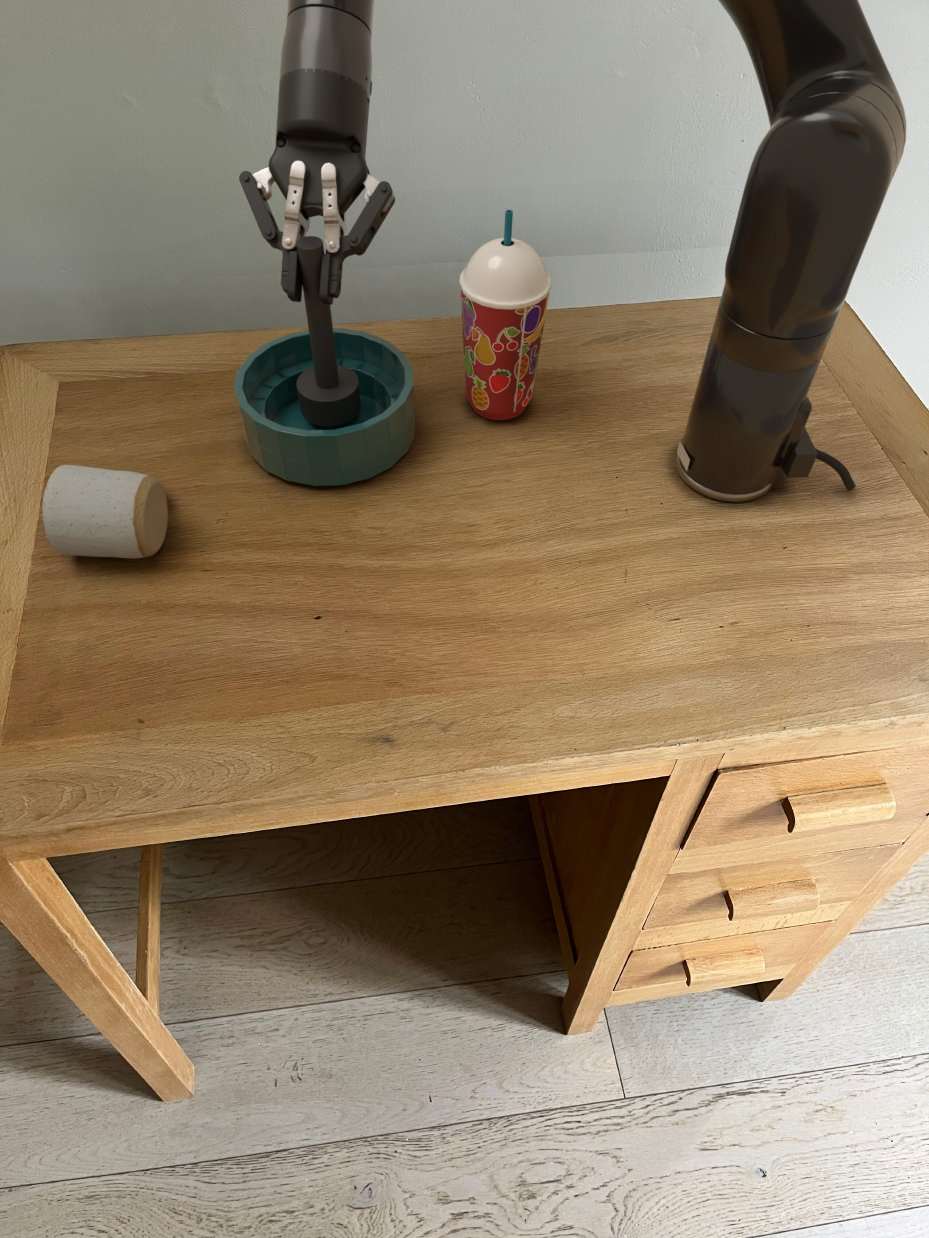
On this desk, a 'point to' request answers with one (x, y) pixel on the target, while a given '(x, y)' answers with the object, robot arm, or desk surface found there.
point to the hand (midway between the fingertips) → (310, 300)
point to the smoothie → (502, 324)
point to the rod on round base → (323, 351)
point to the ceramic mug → (104, 512)
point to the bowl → (326, 450)
